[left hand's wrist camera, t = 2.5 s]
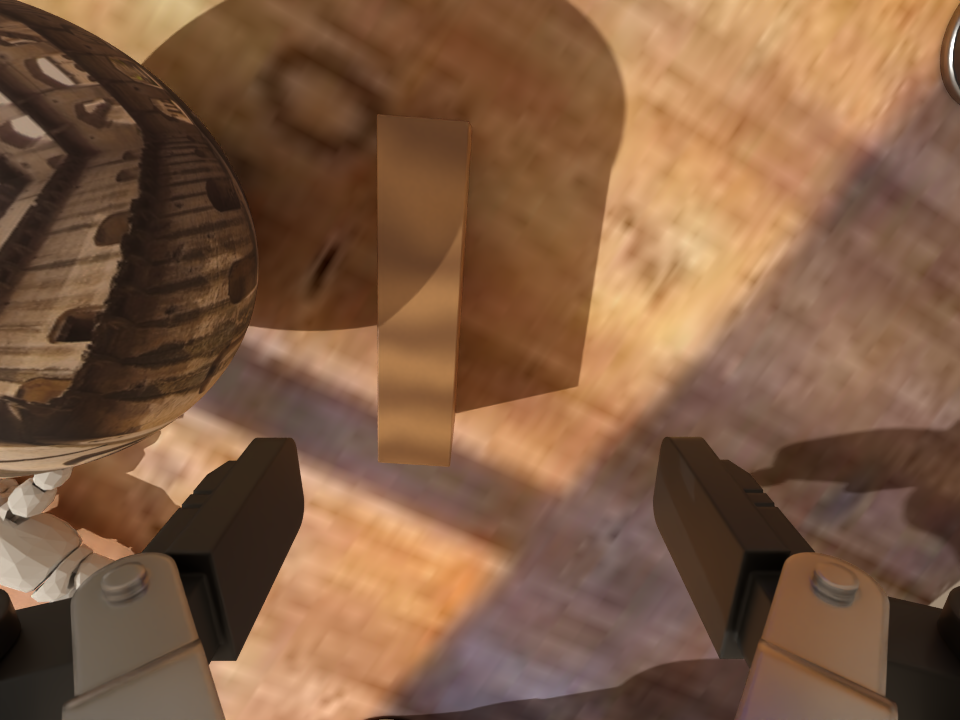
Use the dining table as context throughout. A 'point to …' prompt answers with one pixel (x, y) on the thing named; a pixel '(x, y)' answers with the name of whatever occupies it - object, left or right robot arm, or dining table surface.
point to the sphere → (107, 249)
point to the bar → (419, 283)
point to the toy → (41, 541)
